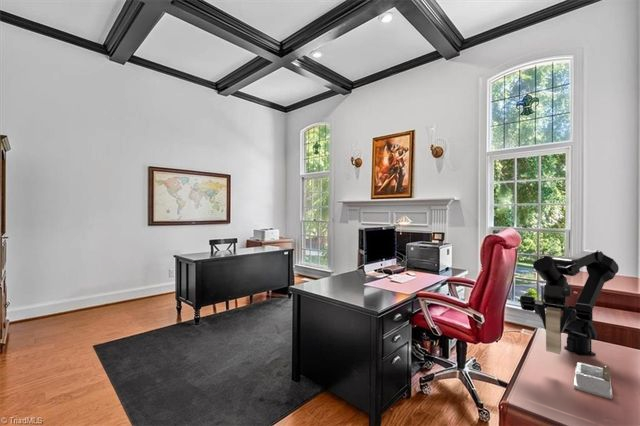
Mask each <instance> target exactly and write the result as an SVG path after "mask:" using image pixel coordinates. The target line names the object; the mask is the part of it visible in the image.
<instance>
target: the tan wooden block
mask: <svg viewBox="0 0 640 426" xmlns="http://www.w3.org/2000/svg"><path fill="white" fill-rule="evenodd" d="M545 313H546V330H545V351H546V352H549V353H553V354H557V355H561V352H562V333H560V325H561V317H562V311H561V309H558V308H552V307H547V308H546V309H545Z"/></svg>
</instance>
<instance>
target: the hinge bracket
mask: <svg viewBox="0 0 640 426" xmlns="http://www.w3.org/2000/svg"><path fill="white" fill-rule="evenodd" d="M574 371H575V373H574V380H573V381H574V382H573V389H575V390H579V391H582V392H586V393H589V394H593V395H596V396H599V397H602V398H607V399H608V400H609V399H610V400H613V389H612V382H611V373H610V366H608V365H605V364H604V365H602V367H599V366H595V365H592V364H591V365H590V364H589V363H583V362H580V361H579V362H578V361H577V363H576V365H575V370H574Z"/></svg>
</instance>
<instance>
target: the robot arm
mask: <svg viewBox="0 0 640 426" xmlns="http://www.w3.org/2000/svg"><path fill="white" fill-rule="evenodd" d="M532 267H533V269H534V270H535V271H536V273H537V274H538V275H539V276H540V278H541V279H542V280H543V281H545V284H544V285H543V296H542V298H543V299H542V300H540V299H535V296H532V295H525V294H522V295H520V297H519V303H520V307H521V309H522V310H523V311H527V312H534V313H535V314H536V315H538V317H540V319H541V322H542V325H543V328H544V330H545V331H546V308H547V307H552V308H558V309H561V312H562V313H561V325H560V333H561V334H562V333H566V334H567V337H566V346H563V348H564V349H565V350H568V351H570V352H572V353H573V354H574V355H577V356H596V355H597V354H596V352H594V351H592V340H595V341H596V340H597V338H598V330H597V329H596V327H595V326H594V317H593V309H594V307H595V305H596V302H598V298H599V296H600V294H601V292H602V289H603V287H604V286H605V283H607V282H609V281H611V280H613V279H614V278H615V277H616V274H617V273H619V269H620V268H619V267H620V266H619V265H618V263H617V262H616V260H615V259H613V258H611V257H610V256H608V255H606V254H604V253H603V252H602V251H601V250H598V249H587V248H586V249H583V250H582V251H580V252H579V253H575V254H573V255H570V256H568V257H567V256H566V257H563V256H560V257H559V256H558V257H552V256H550V255H544V256H543V257H542V258H538V259H537V260H535V261H534V262H533V263H532ZM584 267H585V268H586V272H587V274H588V275H587V276H588V277H587V279H586V281H585V283H584V285H583V287H582V289H581V291H580V294H579V295H578V298H577V300H576V302H575V305H574V306H571V305H567V297H568V298H571V296H572V286H571V285H569V282H568V279H567V277H566V276H569V277H575V276H576V275H578V274H579V273H581V271H580V269H582V268H584Z"/></svg>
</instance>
